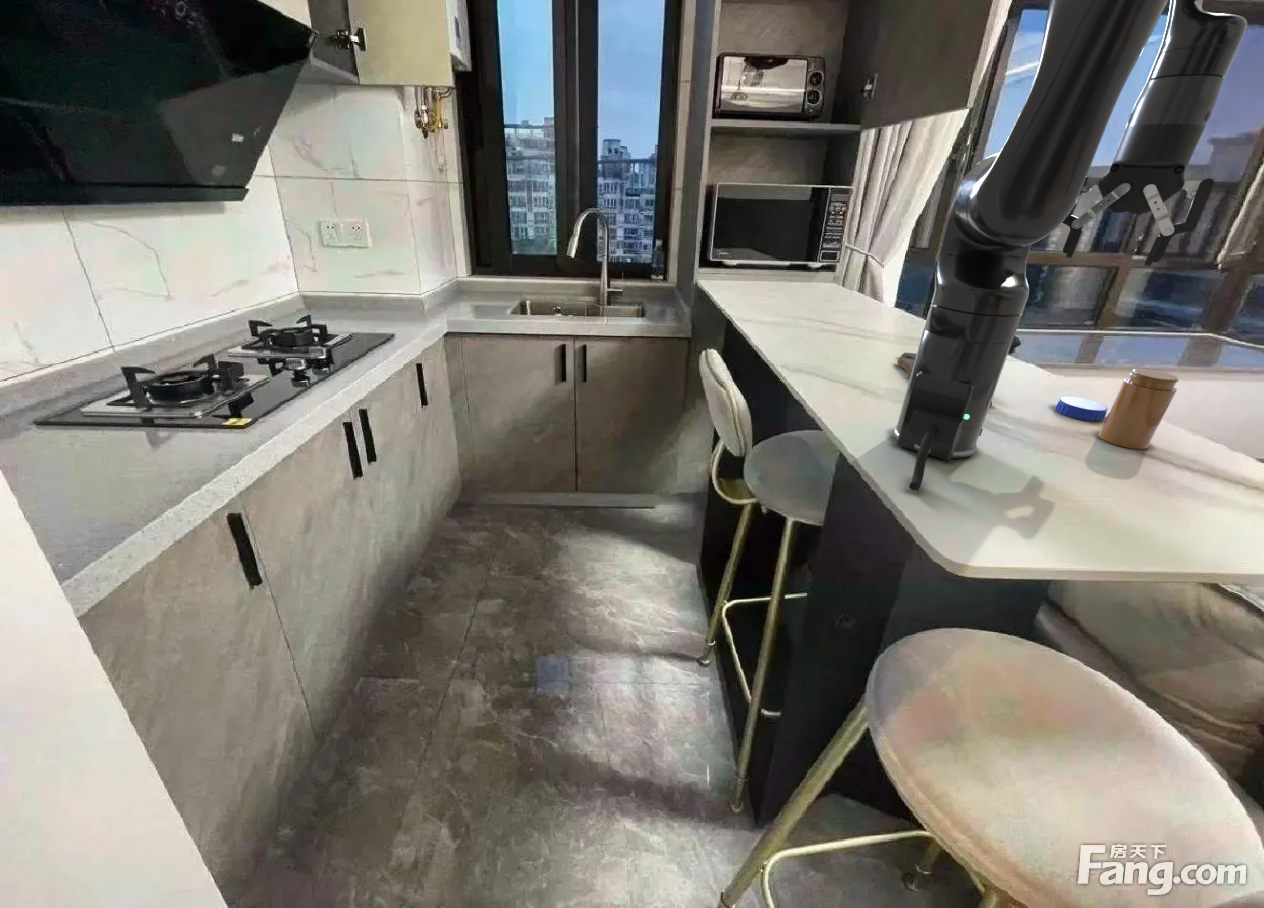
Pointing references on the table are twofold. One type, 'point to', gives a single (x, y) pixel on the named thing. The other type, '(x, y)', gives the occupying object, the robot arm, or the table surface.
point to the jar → (1139, 408)
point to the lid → (1081, 408)
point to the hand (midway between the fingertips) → (1106, 262)
